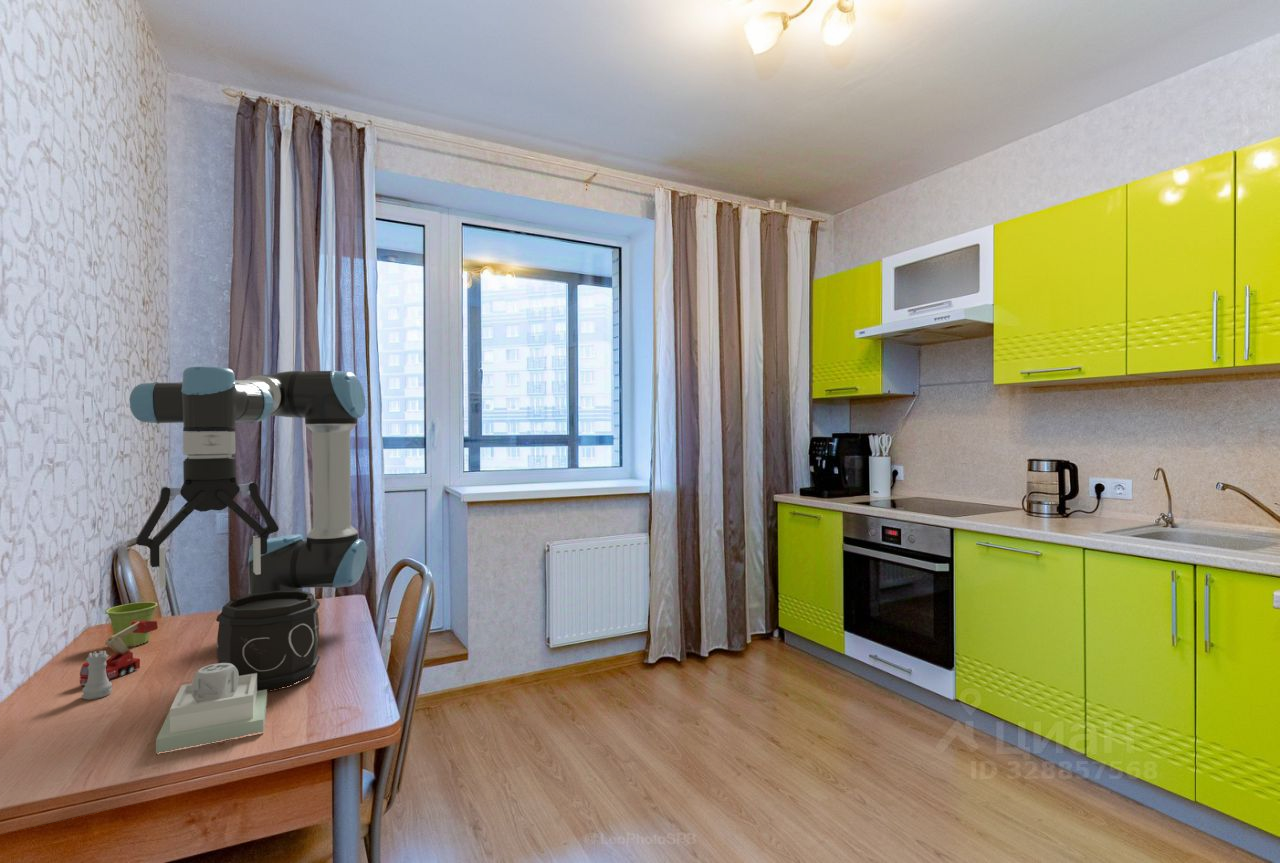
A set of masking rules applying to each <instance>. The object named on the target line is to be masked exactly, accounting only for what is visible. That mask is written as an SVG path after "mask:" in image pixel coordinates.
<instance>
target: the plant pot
mask: <svg viewBox="0 0 1280 863" xmlns="http://www.w3.org/2000/svg"><path fill="white" fill-rule="evenodd" d="M156 607H158V603H157V602H154V601H141V602H132V603H126V604H122V605H117V606H112V607H110V608H108V609H106V610H105V613H106V614H108V618H109V620H110V621H111V622H110V623H111V627H112V632H113V636H114V635H116V634H117V633H119V632H121V631H123V630H125V629H126V628H128V627H130V626H132V625H131V623H132V622H133V621H153V618H154V613H155V612H156ZM150 636H151V632H148V633H133V632H131V633H129V634H128V635H126V636H124V637H122V638H120V639H121V640H122V641H123V643H124V644H125V645H126V646H127V647H128V646H134V647H136V646H135V645H138V646H141V645H140V644H142V645H144V644H143V643H145V644H146V643H147V641H148V642H149V641H150ZM128 648H129V647H128Z"/></svg>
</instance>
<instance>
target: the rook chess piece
mask: <svg viewBox="0 0 1280 863" xmlns="http://www.w3.org/2000/svg"><path fill="white" fill-rule="evenodd" d="M108 659H109V654H108V653H107V650H99V651H98V653H97V651H96V650H95V651H93V652H89V653H88V656H87V658H86V659H85V662H88V663H89V666H88V667H87V668H88V669H89V675H88V680H87V683H86V684H85V686H84V687H82V691H81V692H82V693H83V694H82V695H81V698H82V699H83V700H85V699H87V700H86V701H91V699H92V700H98V699H103V698H105V697H107V696H109V695H110V694H111V693H112V692H113V689H112V687H113V684H112V682H111V681H110V679H108V678H107V674H106V665H107V663H106V660H108Z"/></svg>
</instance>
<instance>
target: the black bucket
mask: <svg viewBox="0 0 1280 863" xmlns="http://www.w3.org/2000/svg"><path fill="white" fill-rule="evenodd" d="M320 604H321V603H320V601H319V600H318V599H315V596H314V594H313V593H311V592H307V591H303V590H302V591H273V592H266V593H259V594H251V595H249V594H248V595H245V596H240V597H237V598H234V599H233V600H232V599H231V600H229V601H228V602H227V603H225V604H224V605H223V606H222V609H221V612H220V613H219V614H218V615H217V617H216V619H215V620H216V622H218V630H217V636H216V658H217V663H231V664H233V665H234V666H235V667H236V668H237V670H238V673H239V676H242V675H248V674H254V673H257V691H260V690H266V689H267V691H270V690H274V689H279V688H282V687H287V686H290V685H293V684H294V683H296V682H298V681H301V680H303V679H305V678H307V677H309V676H311V677H312V675H313V673H314V671H315V670H316V669H317V666H318V664H319V661H320V658H321V655H319V654H318V651H319V650H318V648H319V641H320V640H319V639H320V621H319V613H318V609H319V607H320ZM311 674H312V675H311ZM279 690H280V689H279ZM270 692H271V691H270Z"/></svg>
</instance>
